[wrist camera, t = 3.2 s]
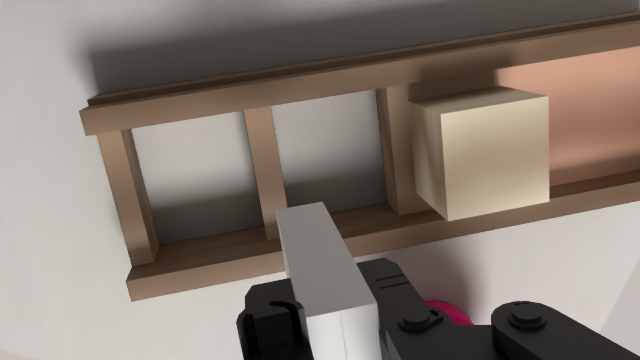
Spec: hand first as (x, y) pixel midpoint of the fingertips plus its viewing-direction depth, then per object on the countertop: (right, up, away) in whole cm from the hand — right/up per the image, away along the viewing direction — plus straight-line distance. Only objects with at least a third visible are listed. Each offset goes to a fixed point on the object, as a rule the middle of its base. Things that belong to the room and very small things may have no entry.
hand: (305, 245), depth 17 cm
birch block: (+7, +4, +8) cm, 12 cm away
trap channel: (+4, +4, +10) cm, 12 cm away
